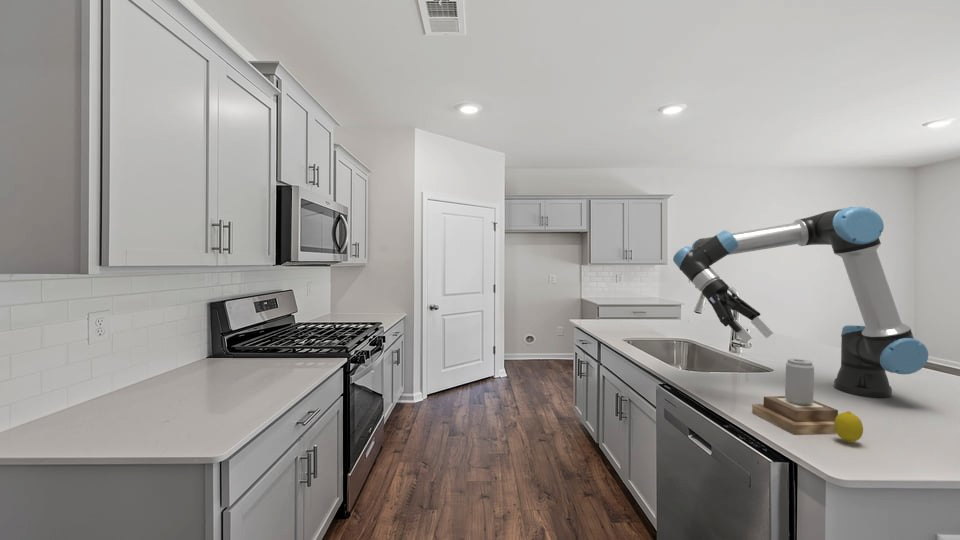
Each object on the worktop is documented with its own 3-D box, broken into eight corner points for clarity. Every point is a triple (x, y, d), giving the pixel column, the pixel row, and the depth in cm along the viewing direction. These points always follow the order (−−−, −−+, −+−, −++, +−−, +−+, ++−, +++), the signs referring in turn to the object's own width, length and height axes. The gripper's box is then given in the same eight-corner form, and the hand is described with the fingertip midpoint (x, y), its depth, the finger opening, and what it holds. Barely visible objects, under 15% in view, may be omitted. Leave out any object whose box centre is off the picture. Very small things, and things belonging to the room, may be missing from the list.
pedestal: (802, 411, 130) (803, 392, 130) (851, 433, 114) (851, 412, 114) (752, 412, 129) (752, 393, 129) (794, 434, 113) (794, 413, 113)
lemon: (828, 438, 111) (828, 407, 111) (847, 437, 111) (848, 407, 111) (848, 448, 105) (849, 415, 105) (868, 447, 106) (869, 415, 106)
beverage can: (807, 400, 124) (808, 358, 123) (817, 407, 118) (818, 364, 117) (781, 397, 126) (782, 357, 125) (789, 404, 120) (790, 362, 119)
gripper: (722, 291, 151) (768, 340, 139) (681, 294, 137) (729, 349, 125) (738, 276, 147) (788, 326, 135) (697, 279, 133) (749, 334, 121)
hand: (759, 337), depth 130 cm, fingers open, 13 cm apart
